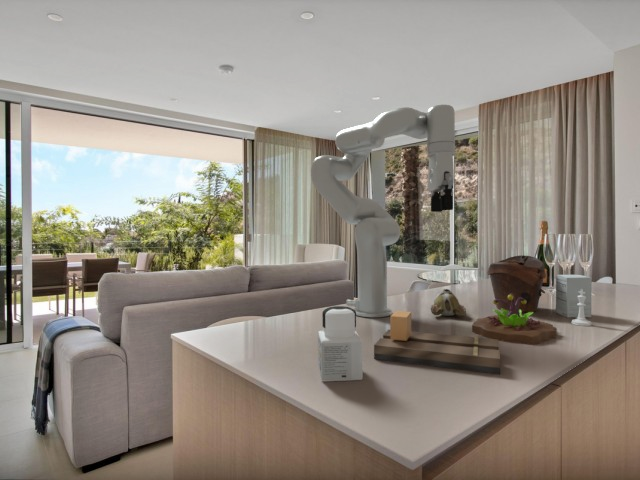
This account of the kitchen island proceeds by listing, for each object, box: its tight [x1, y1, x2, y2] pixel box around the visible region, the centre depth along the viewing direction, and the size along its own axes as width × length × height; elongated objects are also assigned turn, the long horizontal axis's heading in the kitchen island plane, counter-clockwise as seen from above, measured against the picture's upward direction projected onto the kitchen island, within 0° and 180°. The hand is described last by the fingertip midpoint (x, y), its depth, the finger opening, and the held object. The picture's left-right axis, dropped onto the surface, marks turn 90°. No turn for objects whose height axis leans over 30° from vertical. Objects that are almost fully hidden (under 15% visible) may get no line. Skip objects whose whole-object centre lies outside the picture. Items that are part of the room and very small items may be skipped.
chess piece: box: [571, 289, 592, 327], centre depth 115 cm, size 5×5×10 cm
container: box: [317, 305, 364, 383], centre depth 77 cm, size 8×8×13 cm
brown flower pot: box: [486, 255, 547, 313], centre depth 135 cm, size 18×20×18 cm
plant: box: [471, 293, 558, 345], centre depth 106 cm, size 20×20×11 cm
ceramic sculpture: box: [430, 288, 467, 317], centre depth 128 cm, size 11×9×15 cm
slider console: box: [373, 329, 501, 375], centre depth 88 cm, size 25×14×3 cm, turn 67°
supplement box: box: [555, 274, 593, 318], centre depth 126 cm, size 7×7×13 cm
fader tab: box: [389, 310, 412, 341], centre depth 91 cm, size 4×6×7 cm, turn 157°
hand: (441, 210), depth 113 cm, fingers open, 9 cm apart
